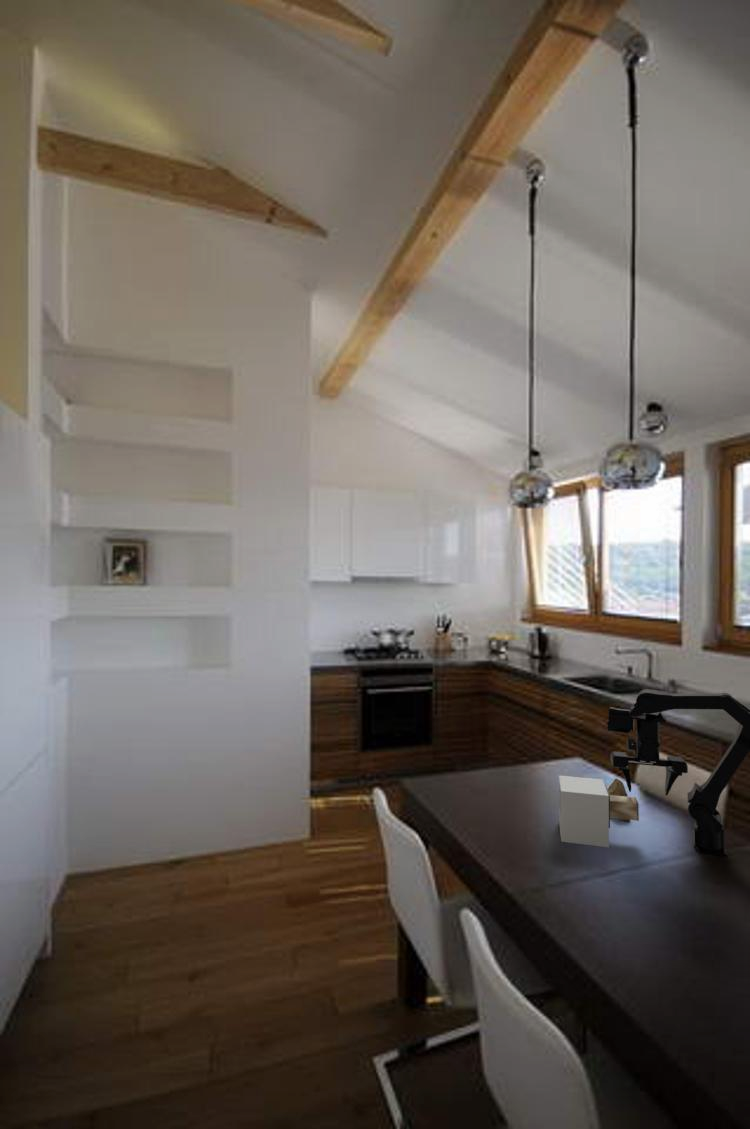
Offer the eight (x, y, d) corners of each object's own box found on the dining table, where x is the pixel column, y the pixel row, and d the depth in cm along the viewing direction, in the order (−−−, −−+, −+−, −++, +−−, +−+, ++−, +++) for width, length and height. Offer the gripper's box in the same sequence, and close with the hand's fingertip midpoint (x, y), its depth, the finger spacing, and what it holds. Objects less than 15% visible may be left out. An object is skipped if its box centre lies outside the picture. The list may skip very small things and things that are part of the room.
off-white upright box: (605, 827, 163) (604, 779, 164) (611, 847, 151) (611, 796, 151) (559, 822, 167) (558, 775, 167) (561, 841, 154) (561, 791, 155)
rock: (641, 816, 166) (636, 799, 175) (622, 792, 167) (618, 776, 176) (609, 833, 169) (605, 815, 178) (590, 809, 170) (588, 793, 179)
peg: (635, 814, 158) (635, 797, 158) (638, 820, 153) (638, 803, 153) (589, 809, 161) (589, 792, 161) (591, 815, 156) (591, 798, 157)
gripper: (677, 731, 164) (677, 786, 163) (607, 726, 168) (607, 779, 168) (688, 742, 153) (688, 801, 152) (613, 736, 158) (613, 793, 157)
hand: (647, 793), depth 158 cm, fingers open, 9 cm apart
